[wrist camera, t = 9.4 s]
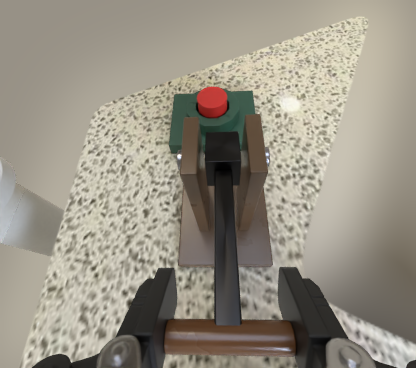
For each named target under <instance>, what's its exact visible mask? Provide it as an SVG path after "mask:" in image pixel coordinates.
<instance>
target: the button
mask: <svg viewBox="0 0 416 368" xmlns="http://www.w3.org/2000/svg"><path fill="white" fill-rule="evenodd" d="M197 103H198V110H199V113H200V114H201V115H202V116H203V117H205V118H218V117H220V116H222V115H224V114H225V112H226V110H227V94H226V92H225V91H224V90H223V89H221V88H219V87H207V88H204V89H203V90H201V91H200V92H199V93H198V95H197Z"/></svg>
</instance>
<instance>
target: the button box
mask: <svg viewBox="0 0 416 368" xmlns="http://www.w3.org/2000/svg"><path fill="white" fill-rule="evenodd" d="M221 89H222V88H221ZM223 90H224V91H225V92H226V94H227V110H226V112H225V114H224V115H222V116H220V117H218V118H205V117H203V116H202V115H201V114H200V113H199V110H198V103H197V95H198V93H199V92H200V91H198V92H196V93H194V94H175V95H174V103H173V112H172V121H171V131H170V140H169V147H170V150H171V152H172V153H177V152H178V150H182V137H183V123H184V118H185V117H198V118H199V123H200V130H201V137H202V144H203V151H204V152H205V141H206V132H229V131H238V132H239V142H240V151H241V147H242V138H243V129H244V120H245V115H252V114H255V107H254V99H253V91H234V92H231V91H228V90H225V89H223Z"/></svg>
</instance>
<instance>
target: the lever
mask: <svg viewBox="0 0 416 368" xmlns="http://www.w3.org/2000/svg"><path fill="white" fill-rule="evenodd" d="M205 169H206V179H207V186H214V319H169V320H168V321H167V324H166V327H165V333H164V351H165V353H166V354H182V355H231V356H280V357H294V356H295V355H296V340H295V334H294V330H293V327H292V324H291V322H290V321H289V320H243V319H242V316H241V301H240V286H239V270H238V255H237V239H236V224H235V209H234V193H233V186H235V185H240V174H241V152H240V142H239V132H238V131H229V132H206V141H205Z"/></svg>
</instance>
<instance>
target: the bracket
mask: <svg viewBox="0 0 416 368" xmlns="http://www.w3.org/2000/svg"><path fill="white" fill-rule="evenodd" d="M269 161H270V154H269V149H268V147H265V145H264V138H263V131H262V123H261V116H260V114H252V115H245V120H244V129H243V138H242V147H241V174H240V185H235V186H233V193H234V209H235V224H236V239H237V255H238V267H271V266H272V265H273V262H272V254H271V246H270V237H269V229H268V221H267V213H266V204H265V196H264V188H263V186H264V183H265V180H266V177H267V174H268V166H269ZM177 165H178V169H179V170H180V176H181V179H182V182H183V196H182V212H181V228H180V243H179V259H178V265H179V266H180V267H214V186H207V179H206V169H205V159H204V151H203V144H202V137H201V130H200V123H199V118H198V117H185V118H184V123H183V137H182V150H178V152H177Z"/></svg>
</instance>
